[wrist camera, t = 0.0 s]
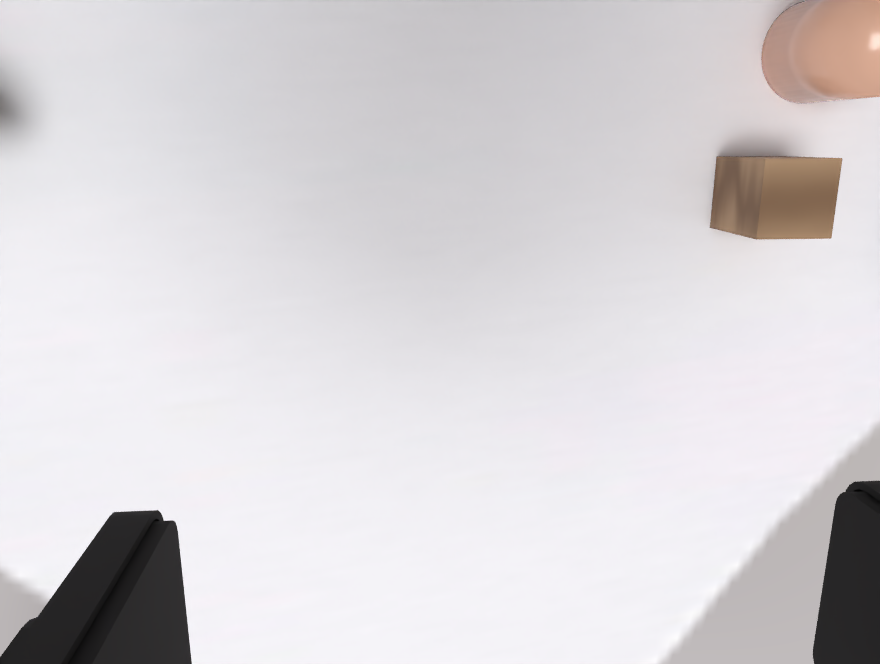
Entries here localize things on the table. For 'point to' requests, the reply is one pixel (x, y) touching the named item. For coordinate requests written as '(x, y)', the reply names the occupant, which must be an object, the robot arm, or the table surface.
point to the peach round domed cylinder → (824, 51)
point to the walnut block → (775, 196)
